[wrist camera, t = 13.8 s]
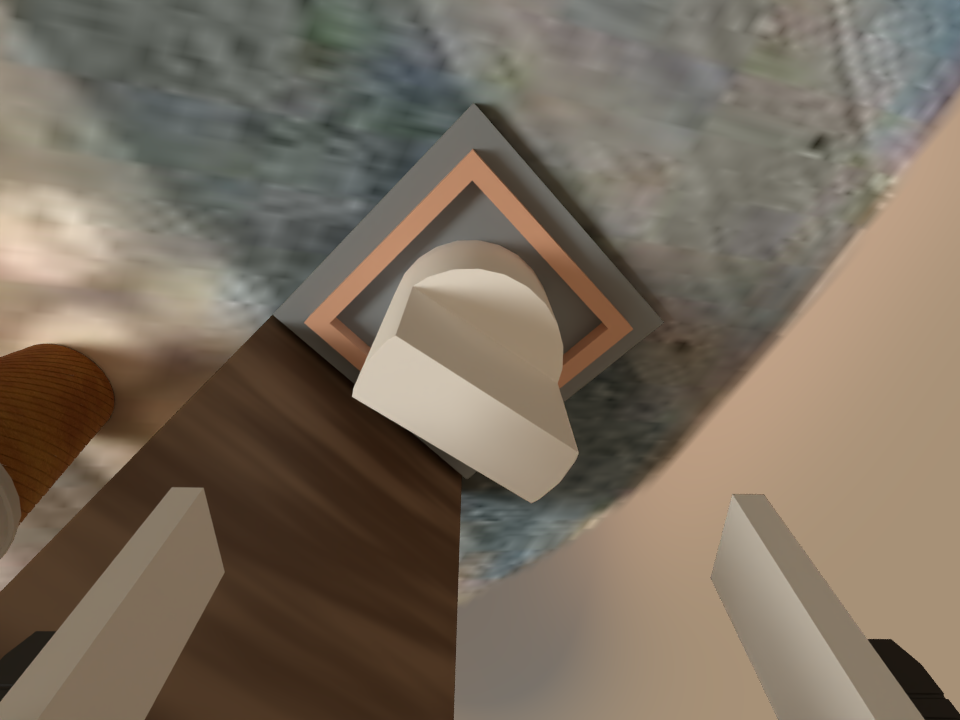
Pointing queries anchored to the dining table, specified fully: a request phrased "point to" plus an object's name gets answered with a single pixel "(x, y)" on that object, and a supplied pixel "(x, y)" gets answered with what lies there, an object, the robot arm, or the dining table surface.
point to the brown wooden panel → (284, 549)
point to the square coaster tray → (470, 216)
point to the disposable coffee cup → (44, 424)
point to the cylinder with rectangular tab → (475, 366)
